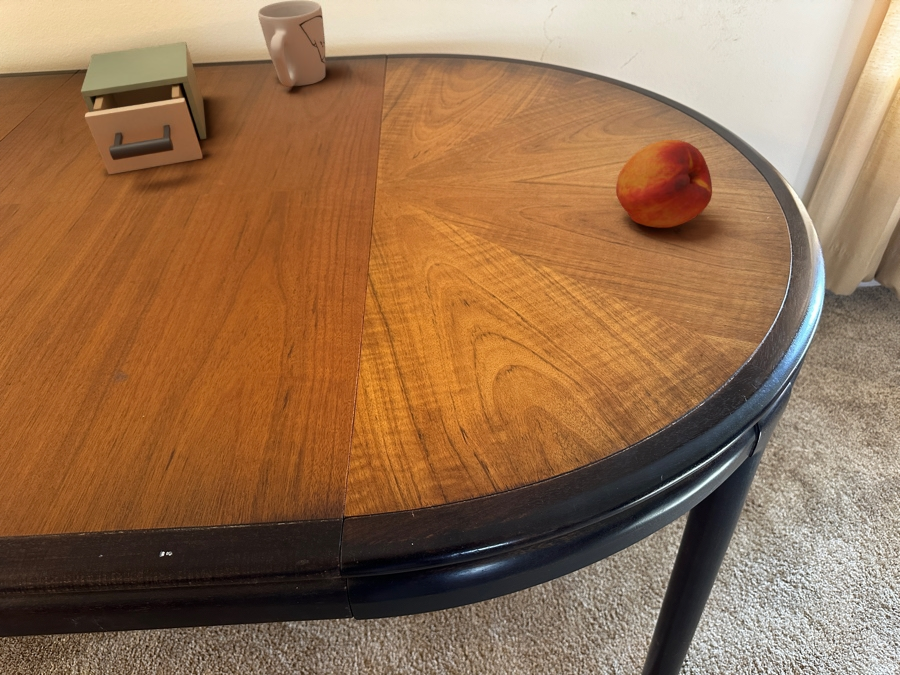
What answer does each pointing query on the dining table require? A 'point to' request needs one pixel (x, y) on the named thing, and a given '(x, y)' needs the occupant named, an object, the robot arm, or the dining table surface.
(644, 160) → the fruit
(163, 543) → the dining table surface
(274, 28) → the mug
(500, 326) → the dining table surface
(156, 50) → the cabinet
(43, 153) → the dining table surface
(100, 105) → the drawer
